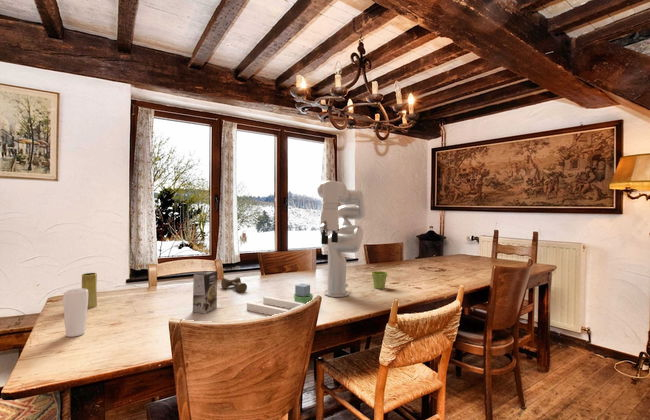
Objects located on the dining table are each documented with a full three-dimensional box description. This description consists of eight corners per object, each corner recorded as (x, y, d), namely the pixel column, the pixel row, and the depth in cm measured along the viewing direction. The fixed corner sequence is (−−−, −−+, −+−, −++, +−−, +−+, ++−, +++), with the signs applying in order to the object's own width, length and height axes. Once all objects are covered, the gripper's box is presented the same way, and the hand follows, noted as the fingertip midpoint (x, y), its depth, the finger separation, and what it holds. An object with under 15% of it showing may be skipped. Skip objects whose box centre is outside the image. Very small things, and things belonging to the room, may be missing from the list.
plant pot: (367, 288, 185) (368, 272, 185) (375, 285, 193) (375, 270, 193) (383, 290, 180) (383, 275, 180) (390, 287, 188) (390, 272, 188)
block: (301, 292, 156) (301, 283, 156) (310, 294, 153) (310, 284, 153) (295, 295, 152) (295, 285, 152) (304, 296, 149) (304, 287, 149)
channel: (266, 302, 153) (266, 296, 153) (306, 310, 142) (306, 303, 142) (246, 309, 142) (246, 302, 142) (289, 319, 131) (289, 311, 131)
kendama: (234, 295, 167) (217, 286, 182) (251, 292, 174) (233, 284, 188) (235, 283, 167) (218, 275, 182) (251, 281, 174) (234, 274, 188)
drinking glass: (71, 330, 115) (72, 288, 115) (92, 330, 115) (92, 288, 115) (57, 338, 108) (58, 293, 108) (79, 338, 109) (80, 293, 108)
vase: (100, 305, 144) (101, 273, 144) (86, 309, 138) (87, 275, 138) (90, 303, 146) (91, 272, 146) (76, 307, 140) (76, 274, 140)
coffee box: (206, 313, 136) (206, 274, 136) (192, 312, 137) (192, 274, 137) (217, 307, 145) (218, 270, 145) (204, 306, 146) (205, 270, 146)
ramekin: (300, 308, 146) (300, 298, 146) (290, 303, 153) (290, 294, 153) (316, 305, 151) (316, 295, 151) (306, 300, 159) (306, 291, 159)
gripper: (332, 207, 164) (331, 241, 164) (314, 206, 149) (313, 244, 149) (345, 207, 160) (344, 242, 160) (328, 207, 145) (327, 245, 145)
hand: (329, 243), depth 154 cm, fingers open, 9 cm apart
